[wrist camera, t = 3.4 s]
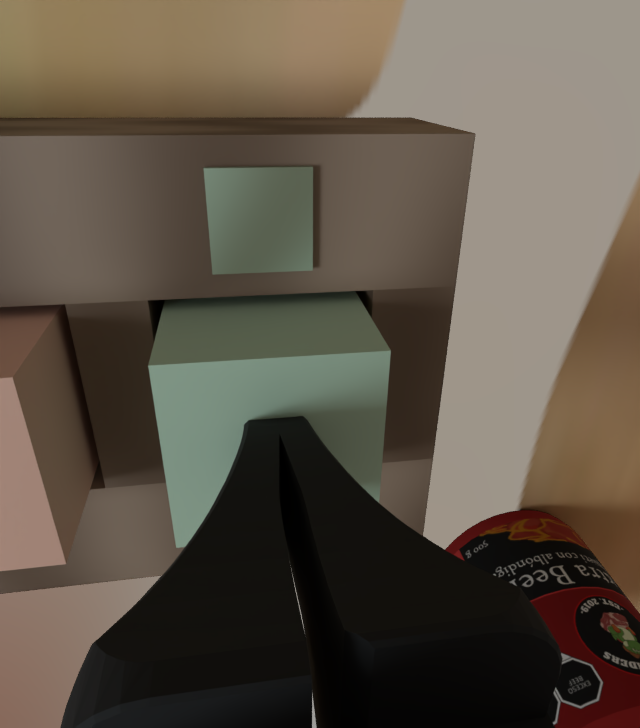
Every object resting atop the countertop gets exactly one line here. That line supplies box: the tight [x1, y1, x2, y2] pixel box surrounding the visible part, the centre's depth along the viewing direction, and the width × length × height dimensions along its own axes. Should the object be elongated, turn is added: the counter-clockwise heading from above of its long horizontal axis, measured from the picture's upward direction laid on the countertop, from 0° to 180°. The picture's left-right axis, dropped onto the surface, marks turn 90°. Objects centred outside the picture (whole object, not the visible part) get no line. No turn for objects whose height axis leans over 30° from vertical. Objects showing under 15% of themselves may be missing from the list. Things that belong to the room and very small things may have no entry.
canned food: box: [445, 510, 640, 728], centre depth 23 cm, size 8×8×11 cm
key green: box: [148, 291, 391, 548], centre depth 14 cm, size 5×5×4 cm
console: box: [0, 118, 475, 594], centre depth 16 cm, size 25×13×5 cm, turn 89°
